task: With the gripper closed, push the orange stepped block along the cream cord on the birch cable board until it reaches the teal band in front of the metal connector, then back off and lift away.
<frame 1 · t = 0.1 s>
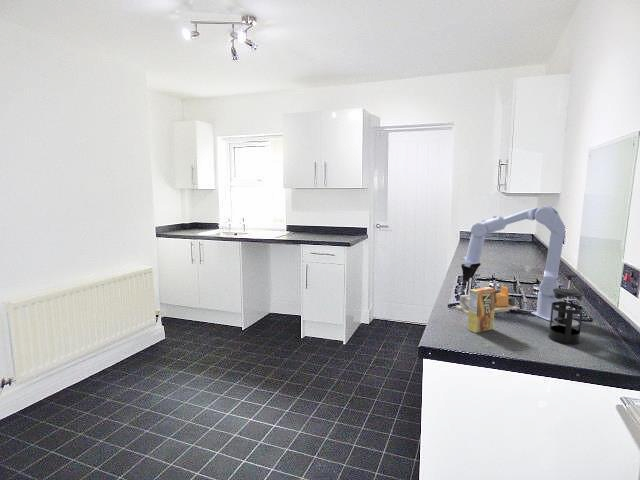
hand: (467, 279, 176), 11 cm above the counter, tool pointing down, fingers open, 7 cm apart
orange stepped block: (499, 296, 170), point 5 cm above the counter, slide at 0.0 cm
french press: (563, 339, 138), on the counter
cord rig: (487, 308, 169), on the counter
candy box: (480, 330, 146), on the counter
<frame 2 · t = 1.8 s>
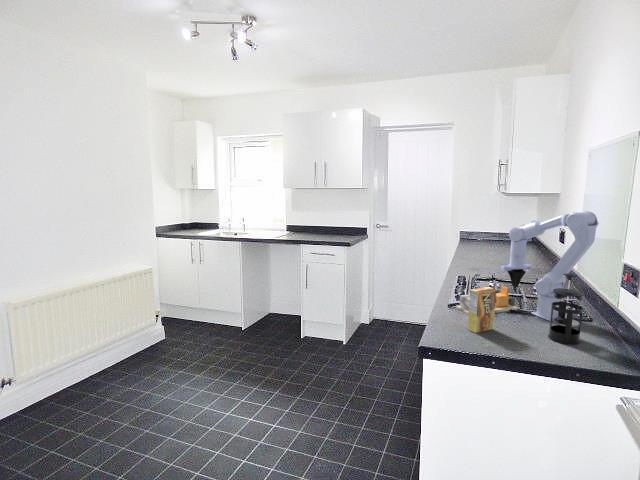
hand: (515, 286, 172), 9 cm above the counter, tool pointing down, fingers closed
nothing on the counter moved.
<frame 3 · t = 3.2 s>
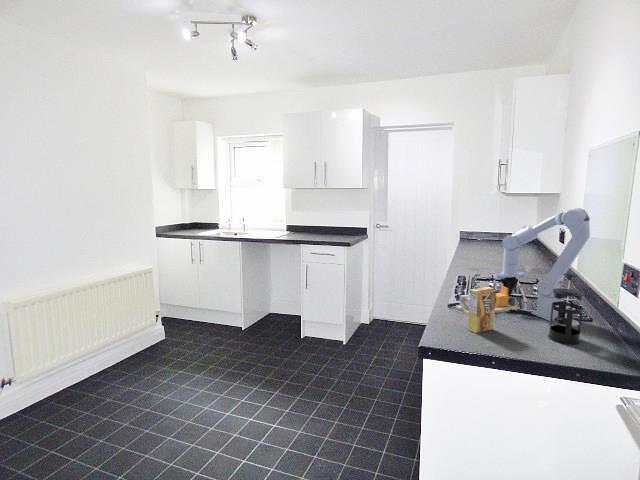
hand: (508, 294, 171), 5 cm above the counter, tool pointing down, fingers closed
orange stepped block: (499, 296, 170), point 5 cm above the counter, slide at 0.0 cm, touching gripper
everything else where it was.
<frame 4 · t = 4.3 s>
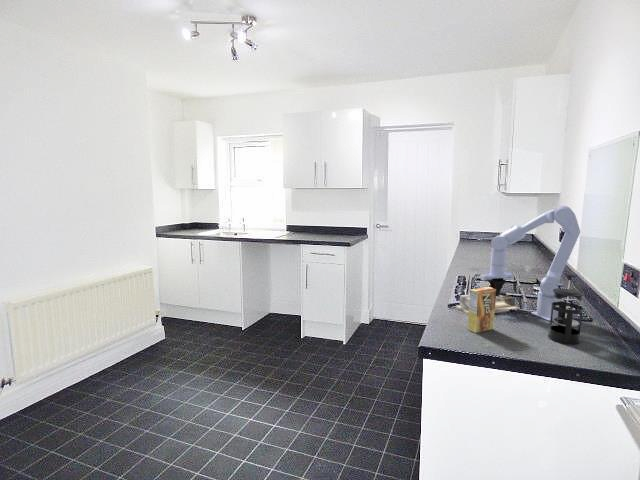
hand: (495, 295, 169), 5 cm above the counter, tool pointing down, fingers closed
orange stepped block: (487, 297, 168), point 5 cm above the counter, slide at 6.4 cm, touching gripper
everything else where it was.
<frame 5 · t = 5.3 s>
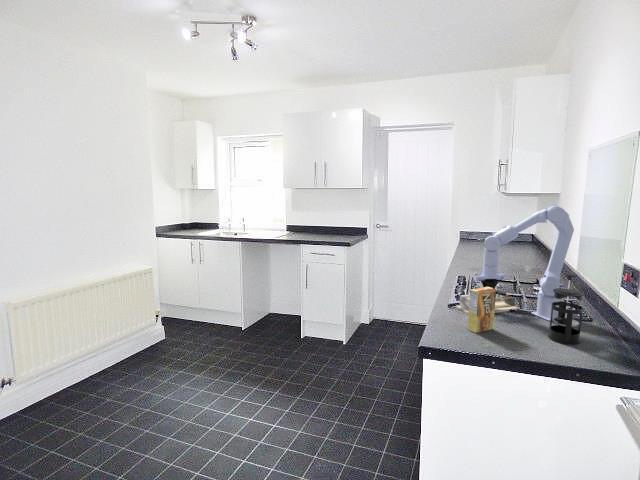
hand: (488, 296, 168), 5 cm above the counter, tool pointing down, fingers closed
orange stepped block: (479, 298, 167), point 5 cm above the counter, slide at 10.0 cm, touching gripper
everything else where it was.
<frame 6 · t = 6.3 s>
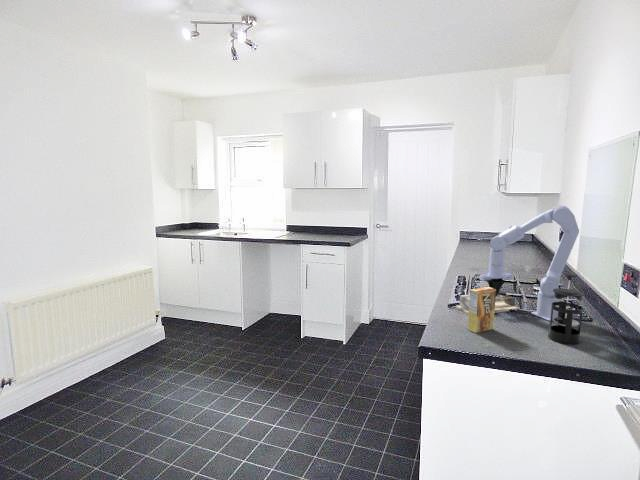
hand: (494, 296, 169), 5 cm above the counter, tool pointing down, fingers closed
orange stepped block: (479, 298, 167), point 5 cm above the counter, slide at 10.1 cm
everything else where it was.
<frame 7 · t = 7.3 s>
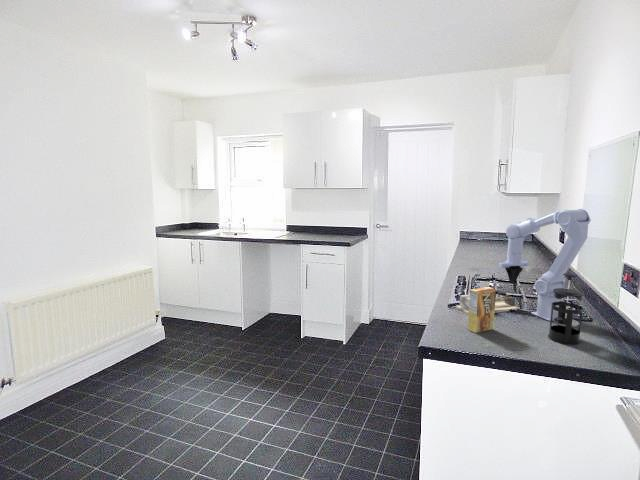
hand: (512, 283, 175), 9 cm above the counter, tool pointing down, fingers closed
nothing on the counter moved.
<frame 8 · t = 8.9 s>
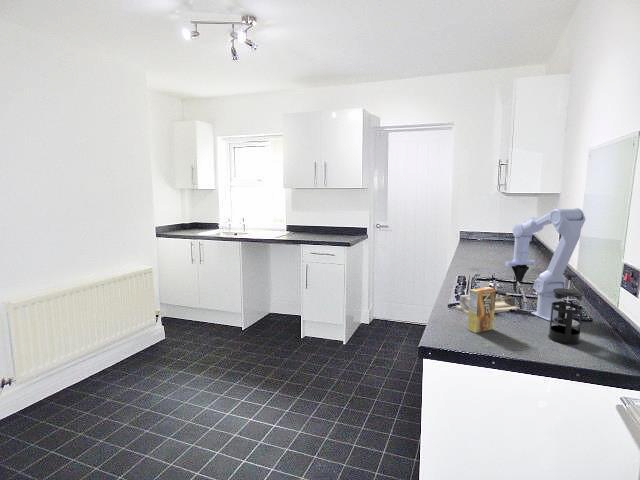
hand: (518, 281, 177), 9 cm above the counter, tool pointing down, fingers closed
nothing on the counter moved.
at the end: orange stepped block slide at 10.1 cm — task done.
